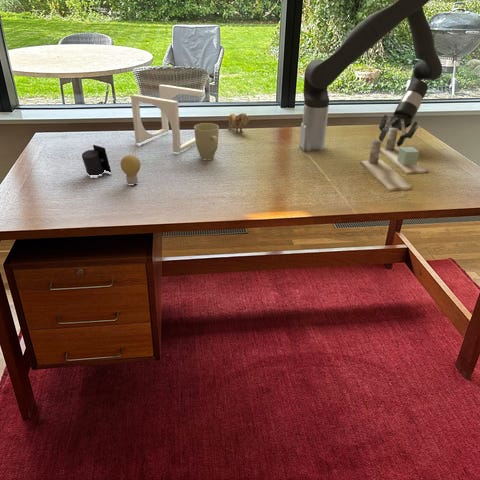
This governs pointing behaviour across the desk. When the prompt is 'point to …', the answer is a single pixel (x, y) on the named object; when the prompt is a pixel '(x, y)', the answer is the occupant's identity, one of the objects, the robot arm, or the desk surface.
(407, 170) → the block strip
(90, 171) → the speaker
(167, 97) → the cream frame stand
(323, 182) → the desk surface
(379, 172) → the empty strip
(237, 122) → the lion figurine
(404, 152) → the sage block
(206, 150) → the mug
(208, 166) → the desk surface
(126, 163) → the light bulb
